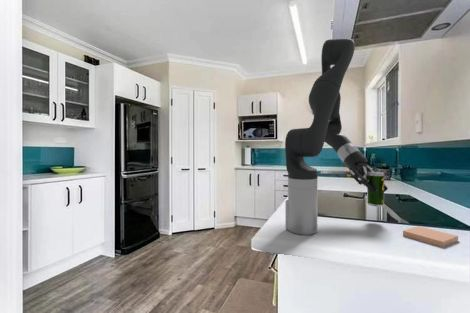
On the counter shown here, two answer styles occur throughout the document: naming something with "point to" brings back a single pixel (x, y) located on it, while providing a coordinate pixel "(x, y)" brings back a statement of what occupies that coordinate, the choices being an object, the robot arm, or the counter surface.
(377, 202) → the beer can
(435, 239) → the tile
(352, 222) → the counter surface
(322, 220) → the counter surface
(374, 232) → the counter surface
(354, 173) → the robot arm
